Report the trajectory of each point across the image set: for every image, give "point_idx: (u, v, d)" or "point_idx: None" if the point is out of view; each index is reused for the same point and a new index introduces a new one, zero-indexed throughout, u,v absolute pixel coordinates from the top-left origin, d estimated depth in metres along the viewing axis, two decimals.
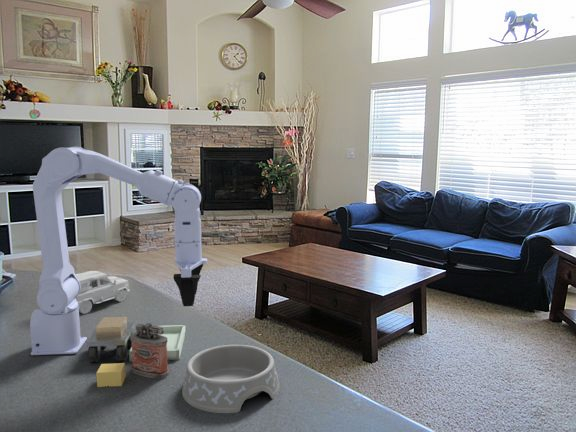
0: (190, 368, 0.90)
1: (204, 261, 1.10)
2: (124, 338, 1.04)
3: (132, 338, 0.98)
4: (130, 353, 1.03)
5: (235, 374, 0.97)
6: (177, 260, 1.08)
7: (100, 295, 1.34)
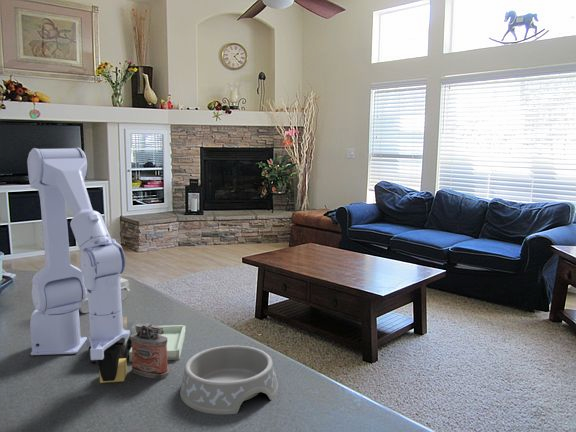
0: (188, 369, 0.90)
1: (125, 335, 0.92)
2: None
3: (132, 338, 0.98)
4: (130, 353, 1.03)
5: (233, 375, 0.97)
6: (91, 335, 0.90)
7: None
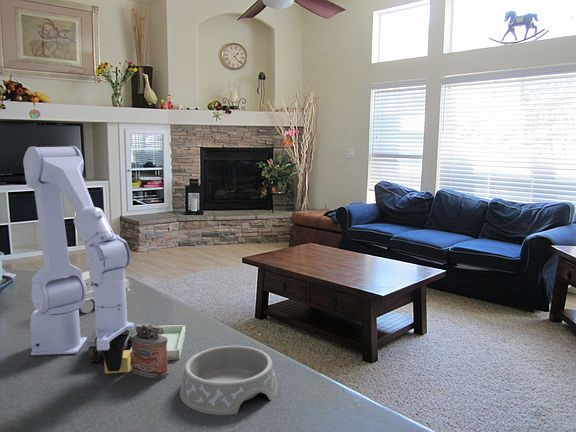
0: (188, 369, 0.90)
1: (129, 327, 0.95)
2: None
3: (132, 338, 0.98)
4: (130, 353, 1.03)
5: (233, 375, 0.97)
6: (97, 327, 0.94)
7: None
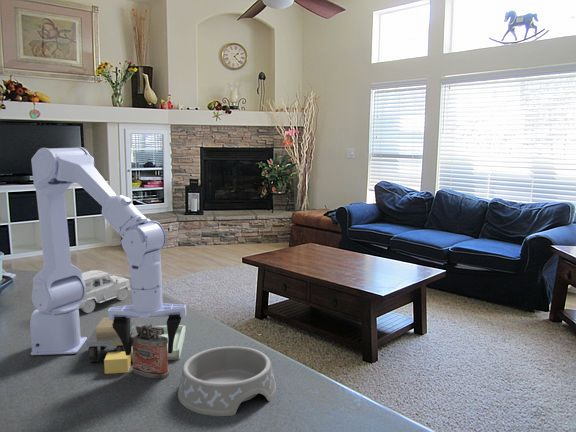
0: (186, 370, 0.89)
1: (139, 314, 0.93)
2: None
3: (133, 338, 0.98)
4: (130, 353, 1.03)
5: (231, 376, 0.97)
6: None
7: (103, 294, 1.35)
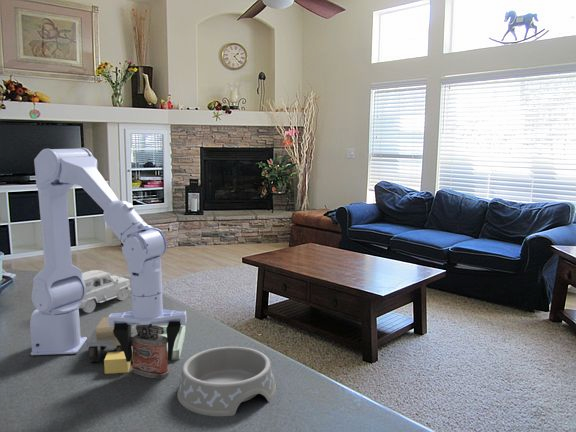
0: (185, 370, 0.89)
1: (139, 321, 0.94)
2: None
3: (133, 338, 0.98)
4: None
5: (231, 376, 0.96)
6: None
7: (103, 294, 1.35)
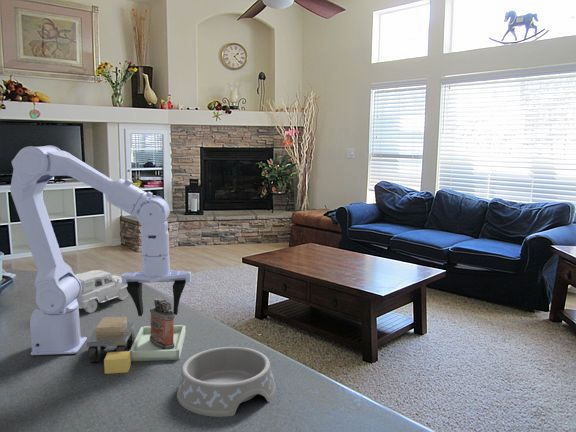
0: (185, 371, 0.89)
1: (149, 279, 1.05)
2: (124, 338, 1.04)
3: (150, 309, 1.11)
4: (130, 353, 1.03)
5: (231, 377, 0.96)
6: None
7: (105, 294, 1.35)
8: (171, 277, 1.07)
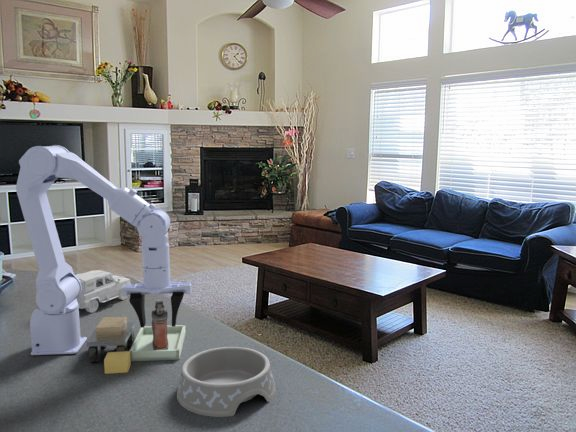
0: (185, 371, 0.89)
1: (149, 291, 1.06)
2: (124, 338, 1.04)
3: (152, 310, 1.11)
4: (130, 353, 1.03)
5: (230, 377, 0.96)
6: None
7: (106, 294, 1.35)
8: (171, 289, 1.07)
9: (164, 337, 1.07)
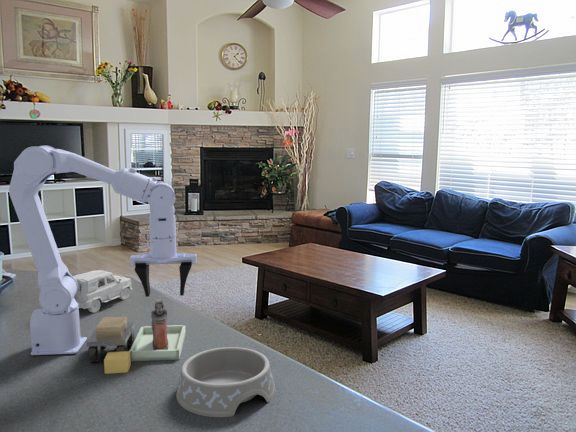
0: (184, 371, 0.89)
1: (156, 260, 1.09)
2: (124, 338, 1.04)
3: (152, 310, 1.11)
4: (130, 353, 1.03)
5: (230, 377, 0.96)
6: None
7: (107, 294, 1.36)
8: (178, 259, 1.11)
9: (164, 337, 1.07)
